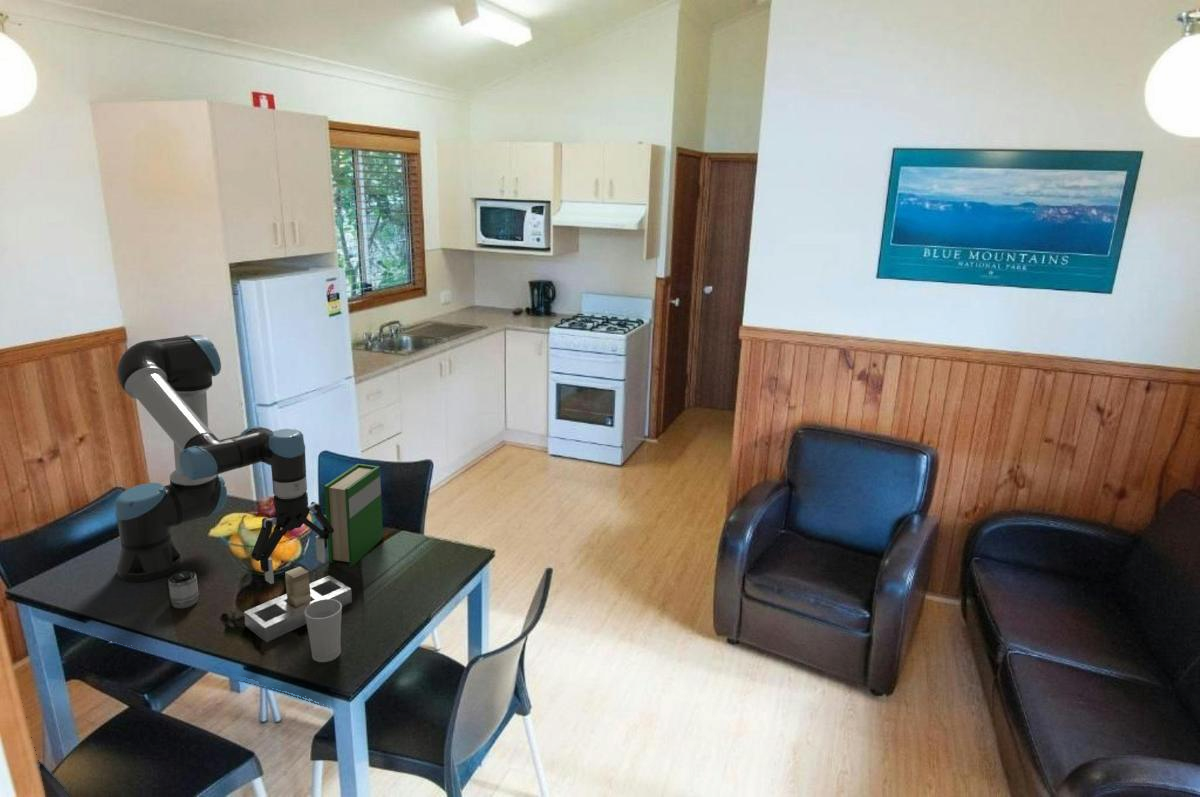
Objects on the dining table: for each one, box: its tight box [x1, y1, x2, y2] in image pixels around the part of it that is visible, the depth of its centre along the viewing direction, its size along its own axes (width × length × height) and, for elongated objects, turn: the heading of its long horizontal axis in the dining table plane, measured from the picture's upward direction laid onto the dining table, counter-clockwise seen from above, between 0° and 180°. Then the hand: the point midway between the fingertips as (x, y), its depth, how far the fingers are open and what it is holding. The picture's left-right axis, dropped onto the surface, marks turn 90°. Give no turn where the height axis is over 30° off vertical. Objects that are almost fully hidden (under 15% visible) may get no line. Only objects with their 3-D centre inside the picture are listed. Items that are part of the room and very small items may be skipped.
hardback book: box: [323, 463, 384, 567], centre depth 207 cm, size 18×7×24 cm, turn 168°
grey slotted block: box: [243, 575, 353, 643], centre depth 178 cm, size 10×23×4 cm, turn 142°
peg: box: [284, 565, 311, 608], centre depth 177 cm, size 4×4×12 cm
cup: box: [305, 599, 343, 663], centre depth 162 cm, size 8×8×12 cm
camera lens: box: [167, 570, 199, 609], centre depth 179 cm, size 6×6×8 cm
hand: (296, 570), depth 175 cm, fingers open, 13 cm apart
